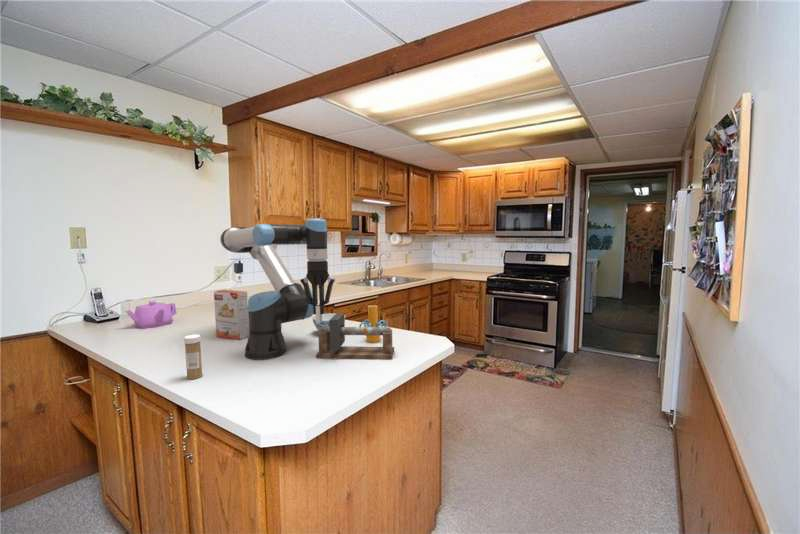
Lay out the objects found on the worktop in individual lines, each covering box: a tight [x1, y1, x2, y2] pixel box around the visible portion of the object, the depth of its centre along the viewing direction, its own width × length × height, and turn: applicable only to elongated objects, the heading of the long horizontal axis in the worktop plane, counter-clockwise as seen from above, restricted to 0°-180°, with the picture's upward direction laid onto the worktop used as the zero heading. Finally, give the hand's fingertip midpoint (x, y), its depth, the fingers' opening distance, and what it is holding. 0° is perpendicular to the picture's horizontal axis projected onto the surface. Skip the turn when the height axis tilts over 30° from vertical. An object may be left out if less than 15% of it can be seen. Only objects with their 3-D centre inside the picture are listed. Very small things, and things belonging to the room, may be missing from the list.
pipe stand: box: [315, 326, 395, 360], centre depth 136 cm, size 28×10×11 cm, turn 86°
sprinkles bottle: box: [183, 334, 203, 380], centre depth 115 cm, size 5×5×14 cm
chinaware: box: [312, 313, 347, 332], centre depth 166 cm, size 15×15×8 cm
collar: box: [329, 313, 346, 350], centre depth 136 cm, size 3×11×11 cm, turn 176°
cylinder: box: [358, 304, 388, 343], centre depth 154 cm, size 12×10×15 cm
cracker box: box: [213, 289, 249, 341], centre depth 161 cm, size 14×6×21 cm, turn 68°
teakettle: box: [125, 300, 177, 330], centre depth 185 cm, size 17×17×12 cm
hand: (319, 322), depth 136 cm, fingers closed
